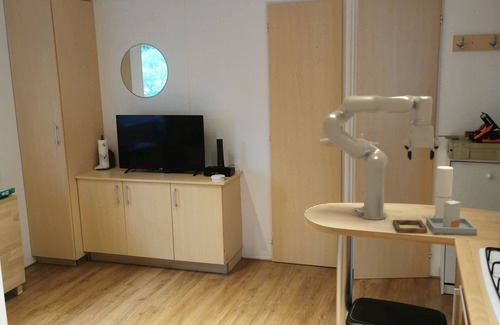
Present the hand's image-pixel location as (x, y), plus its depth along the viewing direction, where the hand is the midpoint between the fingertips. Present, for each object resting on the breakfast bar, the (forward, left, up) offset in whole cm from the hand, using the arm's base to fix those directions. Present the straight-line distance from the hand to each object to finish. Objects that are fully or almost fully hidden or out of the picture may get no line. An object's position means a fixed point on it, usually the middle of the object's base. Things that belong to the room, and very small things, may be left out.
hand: (420, 159), depth 224 cm
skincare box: (+12, -11, -30) cm, 34 cm away
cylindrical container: (+13, +6, -30) cm, 34 cm away
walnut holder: (-6, -11, -30) cm, 33 cm away
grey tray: (+12, -11, -30) cm, 34 cm away
